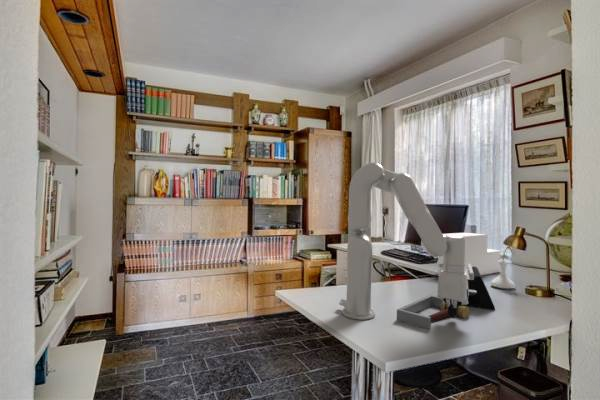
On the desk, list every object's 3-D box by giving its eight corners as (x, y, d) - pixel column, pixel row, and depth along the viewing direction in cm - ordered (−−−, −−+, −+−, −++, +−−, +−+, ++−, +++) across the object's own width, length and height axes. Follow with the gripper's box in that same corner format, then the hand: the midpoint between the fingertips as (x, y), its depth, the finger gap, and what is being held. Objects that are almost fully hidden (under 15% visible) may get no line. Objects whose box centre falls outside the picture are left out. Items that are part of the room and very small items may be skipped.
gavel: (436, 319, 124) (413, 311, 133) (437, 331, 124) (414, 322, 133) (469, 306, 136) (446, 299, 144) (469, 317, 136) (446, 310, 144)
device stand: (437, 303, 153) (438, 269, 153) (438, 290, 174) (439, 261, 174) (494, 310, 145) (495, 275, 144) (489, 296, 165) (490, 265, 165)
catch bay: (396, 320, 131) (396, 309, 130) (429, 303, 151) (429, 294, 151) (428, 329, 122) (429, 318, 122) (459, 310, 143) (459, 301, 142)
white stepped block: (473, 267, 236) (474, 231, 235) (501, 272, 220) (501, 233, 220) (430, 274, 212) (431, 233, 212) (457, 280, 196) (458, 237, 196)
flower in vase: (510, 291, 174) (511, 242, 173) (486, 286, 183) (487, 239, 182) (520, 287, 182) (521, 240, 182) (496, 283, 191) (498, 238, 190)
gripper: (429, 267, 133) (429, 314, 133) (471, 273, 122) (470, 325, 122) (438, 264, 138) (437, 310, 138) (478, 270, 127) (477, 320, 128)
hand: (452, 317), depth 130 cm, fingers closed
